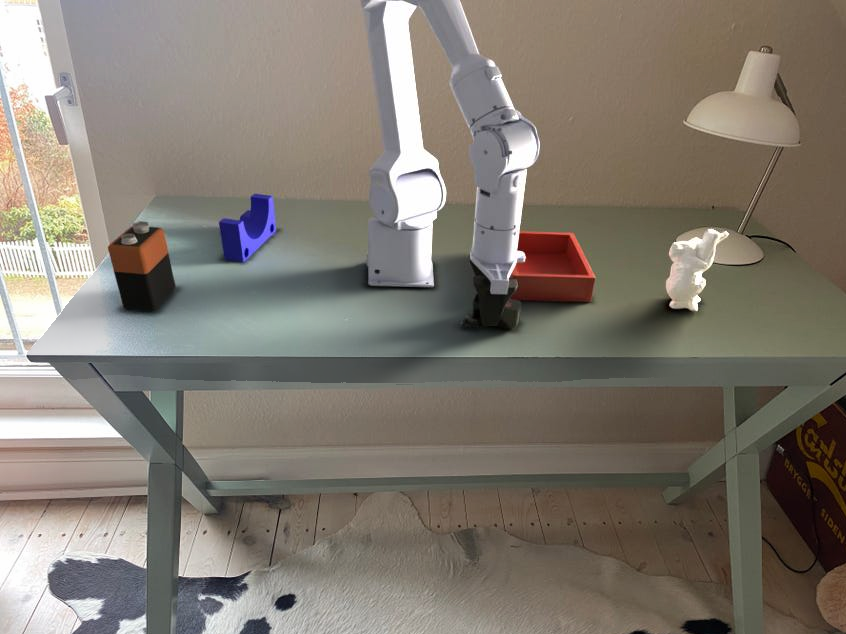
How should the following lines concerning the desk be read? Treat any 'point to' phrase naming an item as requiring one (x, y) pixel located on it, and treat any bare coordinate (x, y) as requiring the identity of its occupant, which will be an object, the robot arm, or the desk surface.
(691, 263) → the koala figurine
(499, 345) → the desk surface
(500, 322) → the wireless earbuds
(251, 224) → the blue pipe saddle mount
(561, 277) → the red open box
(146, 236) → the battery
